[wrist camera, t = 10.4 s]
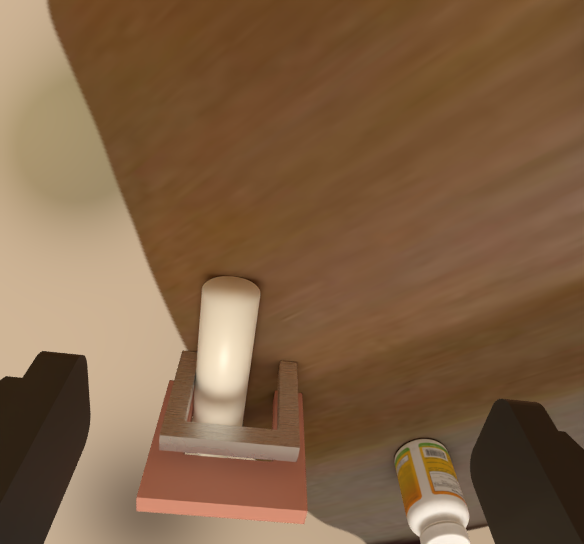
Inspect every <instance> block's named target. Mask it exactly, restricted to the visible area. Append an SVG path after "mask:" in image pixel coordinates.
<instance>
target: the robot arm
mask: <svg viewBox="0 0 584 544" xmlns="http://www.w3.org/2000/svg"><path fill="white" fill-rule="evenodd" d="M89 426H90V401H89V386H88V370H87V361H86V358H85V356H84V355H76V354H67V353H57V352H47V351H42V352H40V353H39V354H38V355H37V357H36V358H35V360H34V361H33V363H32V364H31V366H30V367H29V369H28V370H27V372H26V374H25V375H24V376H23V378H17V377H8V376H6V377H4V378H3V379H1V380H0V544H44V541H45V539H46V537H47V534H48V532H49V529H50V527H51V525H52V522H53V520H54V518H55V515H56V513H57V510H58V508H59V506H60V503H61V501H62V499H63V496H64V494H65V492H66V489H67V487H68V485H69V482H70V480H71V477H72V475H73V473H74V470H75V468H76V466H77V463H78V461H79V458H80V456H81V454H82V451H83V449H84V446H85V443H86V440H87V436H88V432H89ZM470 472H471V479H472V482H473V486H474V488H475V491H476V494H477V496H478V499H479V502H480V504H481V507H482V510H483V512H484V515H485V518H486V520H487V523H488V526H489V528H490V531H491V534H492V537H493V539H494V542H495V544H584V449H583V448H582V447H581V446H579V445H578V444H577V443H576V442H575V441H574V440H573V439H572V438H571V437H570V436H569V435H568V434H567V433H566V432H562V431H558V430H557V428H556V426H555V425H554V423H553V422H552V420H551V418H550V417H549V415H548V413H547V412H546V410H545V408H544V407H543V406H542V405H541V404H539V403H537V402H528V401H519V400H509V399H498V400H497V401H496V402H495V403H494V404H493V406H492V408H491V411H490V413H489V415H488V417H487V419H486V422H485V424H484V426H483V428H482V431H481V433H480V435H479V437H478V439H477V442H476V444H475V446H474V448H473V451H472V454H471V460H470Z"/></svg>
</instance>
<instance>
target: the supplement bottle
mask: <svg viewBox="0 0 584 544" xmlns="http://www.w3.org/2000/svg"><path fill="white" fill-rule="evenodd" d="M395 468H396V472H397V477H398V481H399V485H400V490H401V494H402V498H403V503H404V507H405V512H406V516H407V520H408V524H409V526H410V528H411V530H412V531H413V532H414V533H415V534H416V535H418V536H419V537H420V542H421V544H470V540H469V537H468V533H467V530H466V526H467V524H468V521H469V512H468V509H467V505H466V502H465V500H464V497H463V494H462V491H461V488H460V486H459V483H458V480H457V477H456V474H455V471H454V468H453V465H452V462H451V459H450V457H449V454H448V451H447V449H446V448H445V447H444V446H443V445H442V444H441V443H439V442H437V441H434V440H430V439H418V440H414V441H411V442H409V443H407V444H405V445H404V446H402V447H401V448H400V449H399V450H398V452H397V453H396V456H395Z"/></svg>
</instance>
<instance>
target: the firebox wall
mask: <svg viewBox="0 0 584 544" xmlns="http://www.w3.org/2000/svg"><path fill="white" fill-rule="evenodd" d="M173 384H174V381H172V380H170V381H169V384H168V388H167V391H166V395H165V398H164V402H163V406H162V409H161V412H160V416H159V420H158V423H157V427H156V430H155V434H154V437H153V441H152V444H151V448H150V452H149V455H148V459H147V463H146V466H145V469H144V473H143V476H142V480H141V484H140V487H139V491H138V494H137V511H143V512H156V513H169V514H181V515H194V516H208V517H219V518H234V519H245V520H258V521H271V522H285V523H297V524H304V523H305V519H306V514H307V490H306V467H305V445H304V422H303V399H302V393H298V405H299V434H300V450H299V455H298V459H297V462H290V461H279V460H272V462H265V461H254V460H242V459H231V458H219V457H208V456H196V455H185V452H176V451H165V450H159V437H160V432H161V428H162V424H163V421H164V417H165V413H166V409H167V406H168V402H169V398H170V395H171V391H172V387H173ZM194 392H195V386H194V391H193V395H192V400H191V405H190V409H189V414H188V418H187V422H191V421H192V416H193V406H194ZM277 401H278V391H275V394H274V400H273V423H272V429H273V430H277Z"/></svg>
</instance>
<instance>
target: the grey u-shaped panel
mask: <svg viewBox="0 0 584 544" xmlns="http://www.w3.org/2000/svg"><path fill="white" fill-rule="evenodd" d="M196 365H197V352H191V351H182V354H181V358H180V362H179V365H178V369H177V372H176V376H175V380H174V384H173V387H172V391H171V395H170V398H169V402H168V406H167V409H166V413H165V417H164V421H163V424H162V428H161V432H160V437H159V450H165V451H176V452H187V453H199V454H210V455H222V456H233V457H246V458H256V459H267V460H279V461H290V462H297V459H298V455H299V450H300V434H299V405H298V376H297V362H288V361H280V364H279V370H278V401H277V430H273V429H262V428H251V427H240V426H229V425H219V424H208V423H197V422H187V418H188V414H189V409H190V405H191V400H192V395H193V391H194V386H195V379H196Z"/></svg>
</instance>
